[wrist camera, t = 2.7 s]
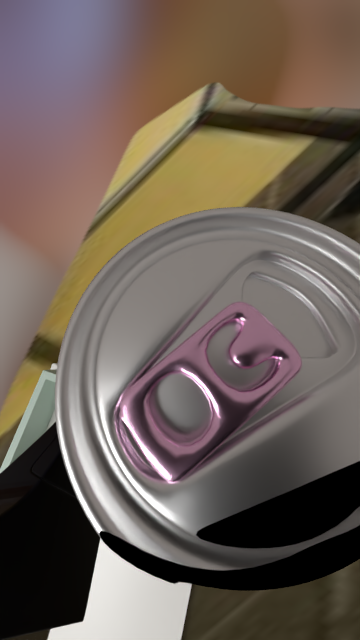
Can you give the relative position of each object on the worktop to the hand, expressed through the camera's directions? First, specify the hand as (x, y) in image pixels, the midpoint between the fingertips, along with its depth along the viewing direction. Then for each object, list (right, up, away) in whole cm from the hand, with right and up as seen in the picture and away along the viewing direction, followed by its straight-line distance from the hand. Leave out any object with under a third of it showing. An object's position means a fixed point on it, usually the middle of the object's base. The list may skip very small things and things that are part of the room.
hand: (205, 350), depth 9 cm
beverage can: (+1, -3, +8) cm, 9 cm away
